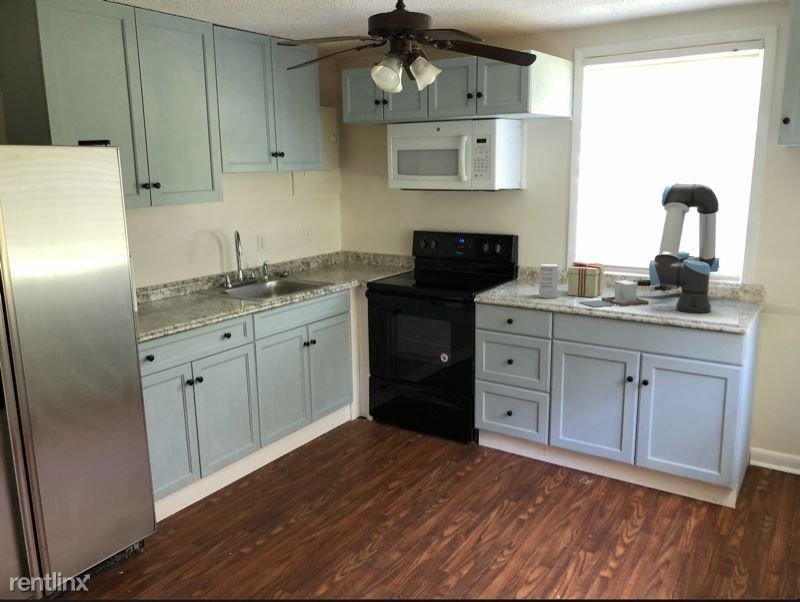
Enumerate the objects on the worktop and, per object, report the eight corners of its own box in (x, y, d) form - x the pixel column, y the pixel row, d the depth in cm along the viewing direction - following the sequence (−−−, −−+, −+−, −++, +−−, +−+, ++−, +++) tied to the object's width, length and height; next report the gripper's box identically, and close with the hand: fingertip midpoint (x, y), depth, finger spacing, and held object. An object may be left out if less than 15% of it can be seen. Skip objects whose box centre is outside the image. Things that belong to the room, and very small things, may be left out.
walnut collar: (648, 304, 332) (648, 301, 331) (621, 306, 326) (621, 303, 326) (627, 298, 346) (627, 295, 346) (601, 300, 341) (601, 297, 341)
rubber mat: (614, 305, 329) (614, 304, 328) (593, 307, 325) (593, 306, 325) (599, 301, 340) (599, 300, 340) (579, 303, 336) (579, 301, 336)
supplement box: (557, 298, 348) (558, 266, 345) (538, 298, 350) (540, 266, 347) (556, 295, 357) (557, 263, 354) (538, 294, 359) (539, 263, 356)
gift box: (604, 292, 364) (605, 260, 361) (597, 298, 348) (598, 265, 345) (572, 290, 372) (574, 259, 368) (564, 295, 356) (565, 263, 352)
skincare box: (613, 300, 341) (614, 280, 339) (625, 300, 342) (626, 280, 340) (624, 304, 331) (625, 284, 329) (636, 304, 332) (637, 283, 330)
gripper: (687, 293, 340) (658, 298, 330) (647, 286, 361) (619, 290, 351) (688, 279, 338) (659, 283, 328) (648, 272, 360) (620, 276, 350)
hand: (638, 286), depth 340 cm, fingers open, 13 cm apart
